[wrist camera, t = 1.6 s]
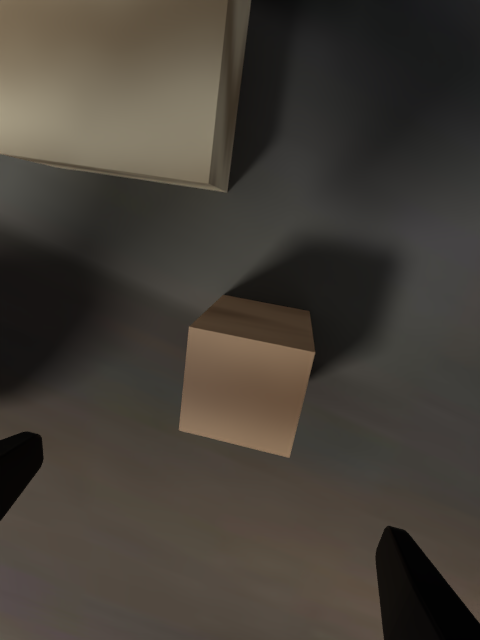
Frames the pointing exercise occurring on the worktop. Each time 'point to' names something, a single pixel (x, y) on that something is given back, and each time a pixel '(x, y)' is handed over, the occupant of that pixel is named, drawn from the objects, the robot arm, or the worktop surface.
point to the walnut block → (247, 374)
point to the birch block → (124, 86)
